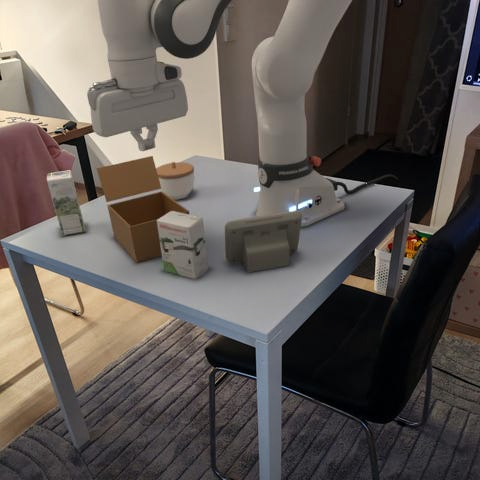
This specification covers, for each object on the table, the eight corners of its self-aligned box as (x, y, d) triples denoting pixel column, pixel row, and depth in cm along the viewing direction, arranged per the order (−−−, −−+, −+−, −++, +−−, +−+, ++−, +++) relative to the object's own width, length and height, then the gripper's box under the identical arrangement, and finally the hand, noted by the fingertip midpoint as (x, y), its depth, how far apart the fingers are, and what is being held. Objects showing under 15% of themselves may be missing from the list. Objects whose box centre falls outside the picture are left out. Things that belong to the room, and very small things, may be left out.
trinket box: (151, 196, 149) (145, 163, 144) (182, 186, 155) (178, 154, 149) (173, 206, 142) (167, 171, 137) (204, 194, 148) (200, 161, 142)
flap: (106, 202, 122) (106, 202, 123) (161, 188, 127) (161, 188, 128) (96, 168, 120) (96, 168, 121) (152, 155, 125) (152, 156, 126)
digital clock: (299, 249, 116) (299, 203, 110) (304, 268, 108) (304, 220, 102) (226, 254, 116) (221, 208, 110) (226, 274, 108) (221, 226, 102)
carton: (114, 238, 127) (107, 205, 123) (167, 223, 133) (161, 191, 128) (137, 262, 116) (129, 227, 111) (193, 245, 121) (189, 211, 116)
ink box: (162, 271, 112) (154, 219, 105) (177, 261, 115) (169, 210, 108) (196, 279, 107) (188, 226, 101) (209, 269, 111) (203, 216, 104)
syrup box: (84, 224, 136) (70, 168, 128) (85, 233, 131) (71, 175, 123) (62, 228, 135) (46, 172, 127) (62, 237, 130) (46, 179, 122)
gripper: (94, 86, 91) (110, 165, 98) (187, 66, 101) (196, 139, 109) (76, 83, 95) (93, 159, 102) (168, 64, 106) (178, 135, 113)
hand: (147, 149), depth 106 cm, fingers closed
